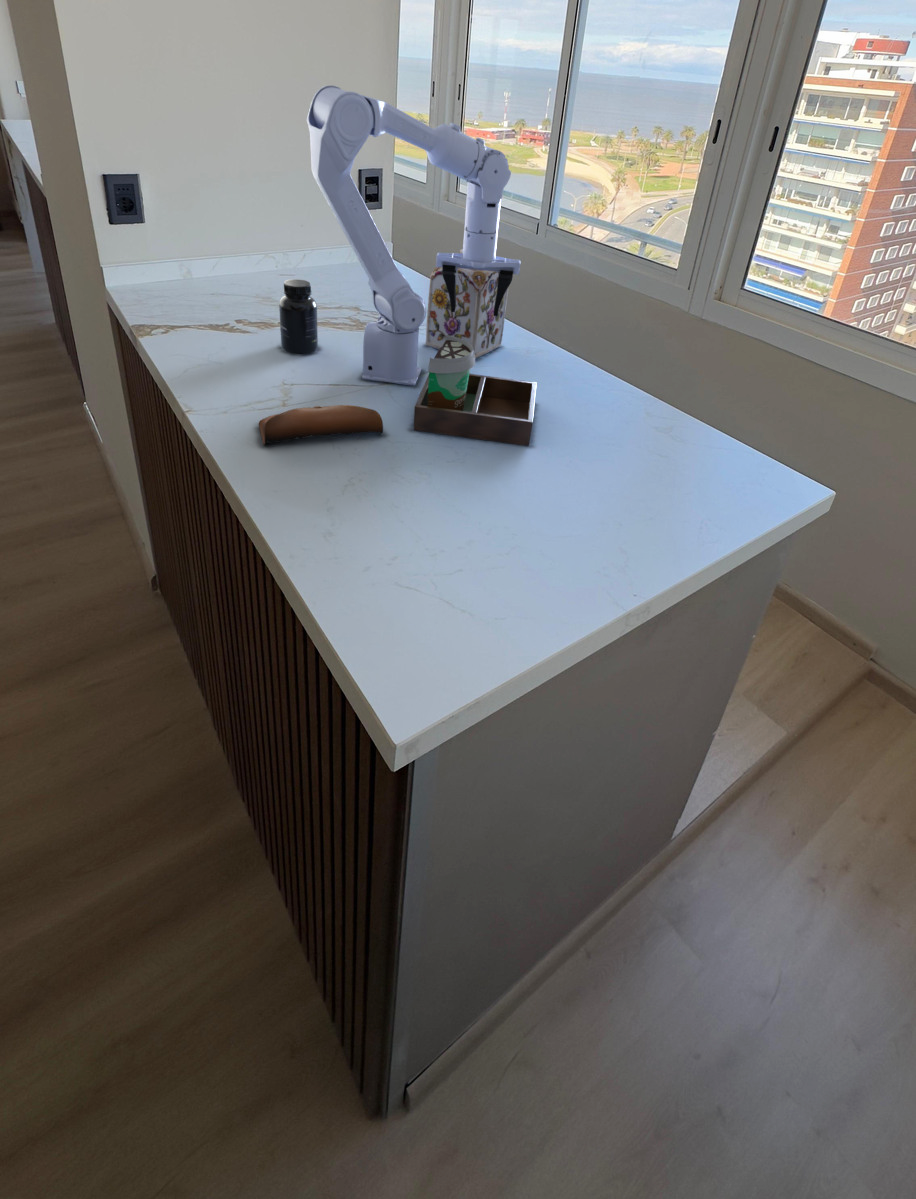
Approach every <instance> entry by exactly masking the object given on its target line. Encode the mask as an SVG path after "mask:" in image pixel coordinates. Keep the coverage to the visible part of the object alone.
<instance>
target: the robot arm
mask: <svg viewBox="0 0 916 1199" xmlns="http://www.w3.org/2000/svg"><path fill="white" fill-rule="evenodd" d="M306 123H307V127H308V131H309V147H310V148H309V149H310V168H311V174H312V177H313V179H314V181H315V182H316V184H317V186H318V188H319V189H320V192H321V193H322V195H323V197H324V199H325V201H326V202H327V204H328V206H329V208H330V210H331V211H332V214H333V215H334V217H335V219H336V221H337V224H339V226H340V228H341V230H342V232H343V234H344V236H345V237H346V239H347V242H348V243H349V245H350V247H351V248H352V250H353V252H354V254H355V256H356V257H357V259H358V261H359V263H360V265H361V267H362V268H363V270H364V272H365V274H366V277H367V278H368V281H367V285H368V287H369V288H370V290H371V294H372V295H371V296H372V304H373V307H374V309H375V310H376V311H377V312H378V317H377V322H373V321H372V322H371V321H370V322H367V323H366V325H365V329H364V333H363V342H362V343H363V344H362V357H363V358H362V376H361V377H362V378H361V379H363V380H367V381H374V382H375V381H376V382H381V383H382V382H383V383H389V384H390V383H391V384H399V385H405V386H415V385H416V383H417V382H418V380H419V379H418V378H419V377H420V375H421V372H422V370H423V369H422V367H420V366H418V354H419V335H420V334H419V333H420V327H421V326H422V325H423V323H424V321H425V319H426V317H427V305H426V302H425V300H424V299H423V298H422V297H421V296H420V294H418V293H416V292H414V290H413V288H412V287H411V285H410V283H409V281H407V280H408V279H406V277H405V276H404V275H403V273H402V272H401V271H400V270H399V267H398V266H397V264H396V262H395V261H394V259H393V256H392V254H391V252H390V251H389V249H388V247H387V244H386V243H385V241H384V238H383V237H382V235H381V232H380V231H379V228H378V227H377V225H376V222H375V221H374V219H373V217H372V215H371V213H370V211H369V209H368V206H367V205H366V203H365V201H364V199H363V197H362V195H361V192H360V191H359V189H358V187H357V185H356V182H355V181H354V179H353V178H352V175H351V171H352V170H353V166H354V162H355V159H356V157H357V155H358V154H359V152H360V150H361V149H362V148H363V146H364V144H366V142H367V140H368V138H369V137H370V136H371V137H373V138H378V137H379V136H382V135H384V134H388V135H391V136H392V137H395V138H397V139H399V140H401V141H403V142H406V143H408V144H411V145H413V146H414V147H417V148H419V149H421V150H423V151H425V153H426V156H427V159H428V161H429V163H430V164H431V165H432V166H434V167H436V168H439V169H441V170H443V171H445V172H447V173H448V174H451V175H453V176H456V177H457V178H459V179H462V180H463V181H465V182H466V183H467V186H466V188H467V189H466V199H465V214H464V229H463V240H462V241H463V242H462V249H463V253H460V252H437V254H436V261H435V262H436V263H435V268H436V267H440V268H442V275H443V278H444V281H445V284H446V286H447V290H448V293H449V298H450V304H451V312H455V309H456V280H457V268H463V269H474V270H485V271H496V272H499V275H498V285H497V294H496V300H495V305H494V316H497V315H498V310H499V307H500V304H501V301H502V299H503V296H504V294H505V292H506V290H507V289H508V290H509V287H510V285H511V283H512V281H513V279H514V278H513V277H514V275H517V276H518V275H519V276H520V272H521V264H522V263H521V260H520V259H513V258H507V257H502V256H497V245H498V235H499V225H500V224H499V223H500V216H501V203H502V199H503V192H504V189H505V187H506V186H507V185H508V183H509V181H510V178H511V175H512V170H510V169H509V166H510V165H509V160H508V158H507V157H506V154H504V153H503V152H502V151H501V150H499V149H496V148H492V147H489V146H486V145H485V144H486V140H485V139H482V138H481V137H476V138H474V137H472V136H470V135H468V134H466V133H464V132H463V131H461V129H462V127H461V126H460V125H458V124H456V123H454V122H450V123H449V124H447V123H441V124H440V125H438V126H436V127H434V128H433V127H431V126H429V125H427V123H426V124H425V123H424V122H422V121H420V120H419V119H417V118H415V117H413V116H412V115H409V114H408V113H406V112H405V111H402V110H400V109H399V108H397V107H395V106H394V105H392V104H390V103H388V102H386V101H383V100H381V99H378V98H374V97H370V96H367V95H364V94H360V93H358V92H356V91H347V90H344V89H342V88H341V87H340V86H339V87H338V86H336V85H332V84H331V85H330V84H327V85H324V86H322V87H320V88H319V89H318V90H317V91H316V92H315V93H314V95H313V97H312V99H311V102H310V106H309V110H308V113H307V116H306Z"/></svg>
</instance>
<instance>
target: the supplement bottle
mask: <svg viewBox="0 0 916 1199" xmlns="http://www.w3.org/2000/svg"><path fill="white" fill-rule="evenodd" d="M283 294H284V295H283V296H282V297H281V298H280V300H279V302H278V310H279V326H280V343H281V344H280V345H281V348H282V349H283V351H285V352H287V353H289V354H293V355H309V354H312V353H315V352H316V351H317V350H318V347H319V339H318V338H319V335H318V334H319V333H318V304H317V302H316V300H315V299H314V297H312V296H311V295H312V284H311V282H310V281H308V280H305V279H300V278H299V279H297V278H291V279H286V280H285V281H283Z"/></svg>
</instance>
